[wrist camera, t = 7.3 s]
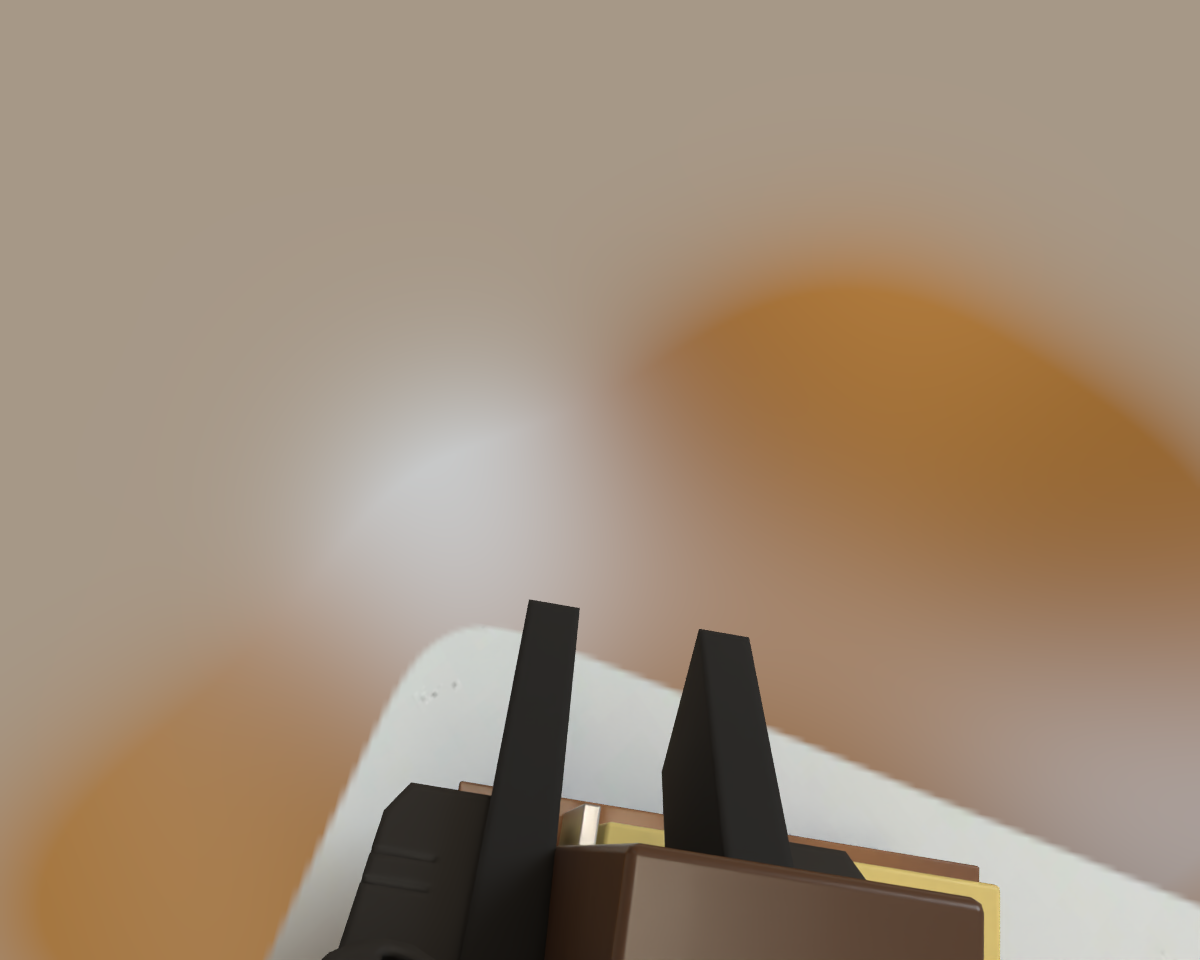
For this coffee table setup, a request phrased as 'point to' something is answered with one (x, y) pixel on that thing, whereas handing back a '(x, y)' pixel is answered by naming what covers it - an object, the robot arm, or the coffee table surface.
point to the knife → (737, 908)
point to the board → (854, 852)
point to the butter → (976, 890)
